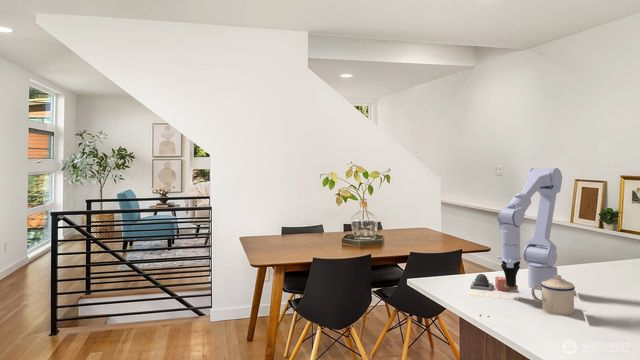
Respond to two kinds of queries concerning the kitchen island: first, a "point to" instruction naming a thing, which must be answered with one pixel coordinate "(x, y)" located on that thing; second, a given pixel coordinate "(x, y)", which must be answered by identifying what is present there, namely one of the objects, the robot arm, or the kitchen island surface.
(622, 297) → the kitchen island surface
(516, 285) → the flanged wooden peg
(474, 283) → the board
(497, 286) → the die
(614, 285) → the kitchen island surface
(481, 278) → the dark gray round knob
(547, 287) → the teacup with lid
